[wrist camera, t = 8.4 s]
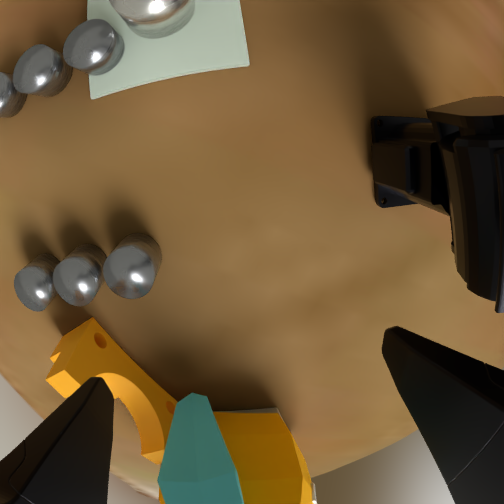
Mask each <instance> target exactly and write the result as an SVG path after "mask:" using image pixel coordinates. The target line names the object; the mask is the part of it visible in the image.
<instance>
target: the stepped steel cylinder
mask: <svg viewBox="0 0 504 504" xmlns="http://www.w3.org/2000/svg"><path fill="white" fill-rule="evenodd" d="M109 2H110V4H111V5H112V7H113V8H114V9H115V10H116V12H117V13H118V14H119V15H120V17H121V18H122V19H123V20H124V22H125V23H126V24H127V26H128V27H129V28H130V29H131V31H132V32H133V33H135V34H136V35H138V36H140V37H143V38H149V39H156V38H163V37H167V36H169V35H172V34H174V33H176V32H178V31H179V30H181V29H182V28H183V27H185V26H186V25H187V24H188V22H189V21H190V20H191V18H192V16H193V14H194V11H195V0H109Z"/></svg>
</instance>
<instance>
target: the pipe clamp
mask: <svg viewBox="0 0 504 504" xmlns="http://www.w3.org/2000/svg"><path fill="white" fill-rule="evenodd" d="M50 359H51V360H52V361H53V362H54V365H53V366H52V368H51V370H50V372H49V374H48V376H47V378H46V381H47V382H48V383H49V384H50V385H51V386H52V387H54V388H55V389H56V390H57V391H58V392H59V393H60V394H61V395H62V396H63V397H64V398H66V397H69V396H71V395H72V394H73V393H74V392H75V391H76V390H77V389H78V388H79V387H80V386H81V385H82V384H83V383H84V382H86V381H87V380H88V379H89V378H90V377H102V378H103V379H104V380H105V382H106V384H107V385H108V387H109V389H110V390H111V392H112V394H113V397H114V399H115V398H118V397H119V398H120V399H121V401H122V402H123V403H124V404H125V405H126V407H127V408H128V410H129V411H130V413H131V415H132V417H133V418H134V421H135V423H136V425H137V428H138V431H139V434H140V439H141V450H142V451H141V455H142V456H144V457H145V458H147V459H149V460H150V461H152V462H154V463H155V464H161V463H162V459H163V455H164V451H165V447H166V443H167V439H168V435H169V431H170V427H171V423H172V419H173V416H174V412H175V408H176V404H177V403H178V402H177V401H176V400H175V399H174V398H173V397H172V396H170V395H169V394H168V393H167V392H166V391H165V390H164V389H162V388H161V387H160V386H159V385H158V384H157V383H156V382H155V381H154V380H153V379H152V378H151V377H149V376H148V375H147V374H146V373H145V372H144V371H143V370H142V369H141V368H140V367H139V366H138V365H137V364H136V363H135V362H134V361H133V360H132V359H131V358H130V357H129V356H128V355H127V354H126V353H125V352H124V351H123V350H122V349H121V348H120V347H119V346H118V344H117V343H116V342H115V341H114V340H113V339H112V338H111V337H110V336H109V335H108V334H107V333H106V331H105V330H104V329H103V328H102V327H101V326H100V325H99V324H98V322H97V321H96V320H95V319H94V318H93V317H92V318H90V319H89V320H87V321H86V322H84V323H83V324H81V325H80V326H78V327H76V328H75V329H73V330H72V331H70V332H69V333H67V334H66V335H64V336H63V337H62V338H61V340H60V342H59V343H58V345H57V347H56V348H55V350H54V352H53V353H52V355H51V357H50Z"/></svg>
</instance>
